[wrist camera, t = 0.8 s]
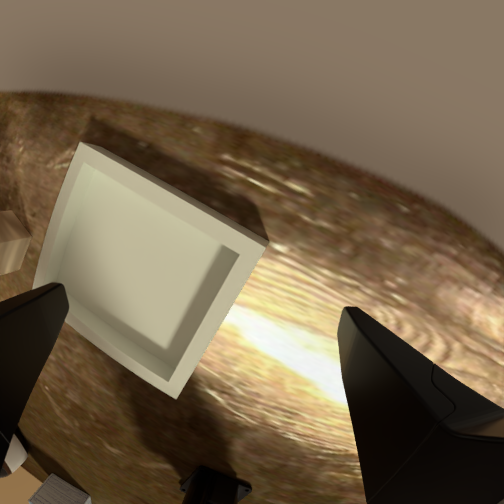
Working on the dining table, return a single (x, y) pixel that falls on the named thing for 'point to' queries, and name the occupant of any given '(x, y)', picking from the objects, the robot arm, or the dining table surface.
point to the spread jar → (14, 454)
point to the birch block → (12, 242)
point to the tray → (143, 266)
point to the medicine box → (58, 493)
